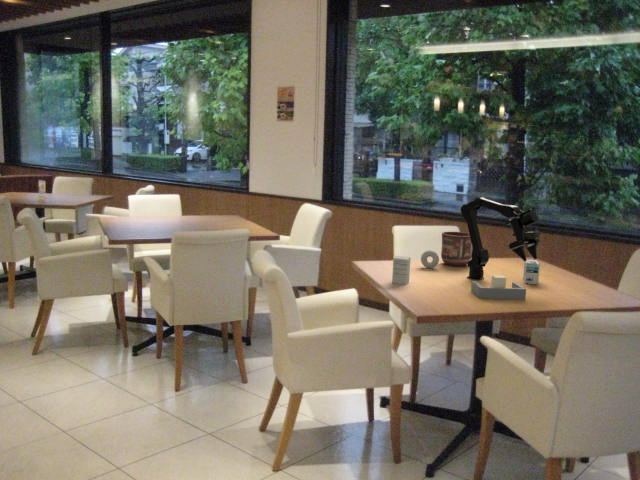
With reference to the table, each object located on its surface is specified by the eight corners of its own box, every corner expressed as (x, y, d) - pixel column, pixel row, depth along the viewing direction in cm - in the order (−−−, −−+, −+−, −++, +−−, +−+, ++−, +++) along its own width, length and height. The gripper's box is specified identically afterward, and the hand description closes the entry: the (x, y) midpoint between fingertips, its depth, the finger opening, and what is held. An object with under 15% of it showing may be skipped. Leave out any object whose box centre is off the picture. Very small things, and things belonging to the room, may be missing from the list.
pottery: (465, 269, 350) (467, 237, 347) (435, 264, 359) (437, 233, 356) (475, 264, 365) (478, 234, 362) (446, 260, 374) (448, 230, 371)
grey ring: (438, 268, 349) (440, 250, 347) (437, 269, 345) (439, 251, 344) (420, 266, 352) (422, 249, 350) (419, 267, 349) (420, 250, 347)
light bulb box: (538, 284, 318) (540, 263, 316) (524, 283, 319) (526, 262, 318) (535, 280, 328) (537, 260, 327) (522, 279, 330) (524, 259, 328)
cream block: (490, 294, 295) (492, 275, 293) (501, 294, 295) (502, 275, 293) (493, 296, 290) (495, 277, 288) (504, 297, 290) (506, 277, 289)
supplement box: (394, 280, 316) (396, 255, 314) (409, 281, 313) (411, 256, 311) (391, 283, 309) (393, 257, 307) (406, 284, 306) (408, 259, 304)
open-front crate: (471, 291, 299) (471, 280, 298) (514, 292, 300) (515, 282, 299) (479, 298, 285) (480, 287, 284) (525, 299, 286) (526, 289, 285)
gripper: (522, 224, 294) (534, 256, 290) (543, 222, 306) (555, 252, 302) (503, 233, 302) (514, 264, 298) (524, 231, 314) (535, 260, 310)
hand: (530, 260), depth 302 cm, fingers open, 9 cm apart
